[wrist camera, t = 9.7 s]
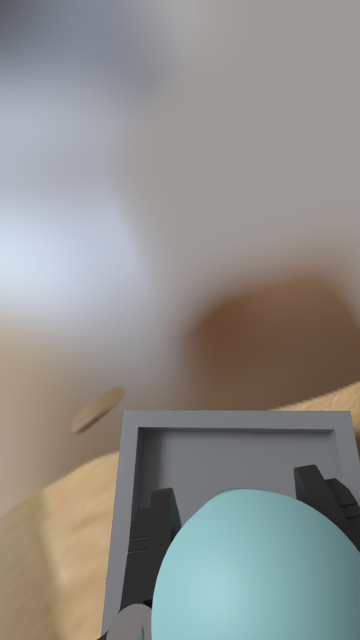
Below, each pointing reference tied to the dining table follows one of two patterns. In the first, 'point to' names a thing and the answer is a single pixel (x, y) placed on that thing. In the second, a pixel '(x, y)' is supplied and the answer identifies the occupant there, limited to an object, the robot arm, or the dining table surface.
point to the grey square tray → (218, 464)
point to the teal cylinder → (258, 574)
